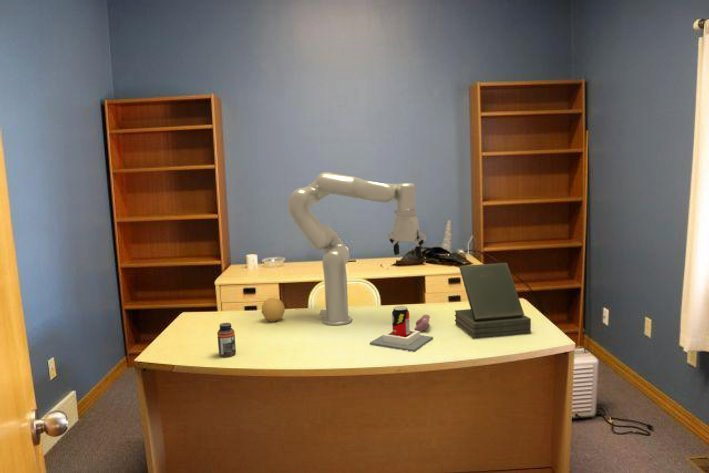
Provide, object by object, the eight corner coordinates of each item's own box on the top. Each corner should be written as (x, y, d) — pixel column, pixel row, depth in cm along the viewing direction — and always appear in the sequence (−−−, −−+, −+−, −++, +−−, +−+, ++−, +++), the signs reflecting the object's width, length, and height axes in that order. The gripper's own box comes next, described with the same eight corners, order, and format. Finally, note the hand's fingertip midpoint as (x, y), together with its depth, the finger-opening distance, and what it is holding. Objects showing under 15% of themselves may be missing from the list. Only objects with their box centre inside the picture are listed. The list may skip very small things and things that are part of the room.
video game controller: (423, 336, 203) (431, 321, 202) (413, 331, 204) (421, 316, 202) (425, 329, 213) (432, 314, 212) (414, 324, 213) (422, 309, 212)
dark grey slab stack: (472, 340, 194) (472, 273, 191) (454, 325, 213) (453, 264, 210) (530, 334, 197) (531, 269, 194) (507, 320, 216) (507, 261, 213)
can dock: (369, 344, 192) (369, 335, 191) (390, 332, 205) (390, 324, 204) (414, 352, 182) (414, 342, 181) (433, 338, 195) (432, 330, 195)
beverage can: (399, 335, 198) (398, 304, 196) (413, 338, 194) (412, 307, 192) (389, 340, 193) (388, 308, 192) (403, 343, 189) (402, 311, 188)
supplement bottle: (220, 352, 189) (218, 322, 188) (237, 351, 189) (235, 321, 188) (217, 358, 183) (215, 326, 182) (234, 357, 184) (232, 325, 182)
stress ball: (285, 324, 225) (290, 305, 232) (274, 311, 219) (280, 292, 226) (266, 326, 229) (271, 307, 236) (254, 313, 223) (261, 294, 229)
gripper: (383, 214, 214) (384, 255, 216) (421, 214, 205) (422, 257, 207) (391, 212, 221) (393, 252, 223) (429, 213, 211) (430, 254, 213)
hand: (407, 255), depth 215 cm, fingers open, 9 cm apart
